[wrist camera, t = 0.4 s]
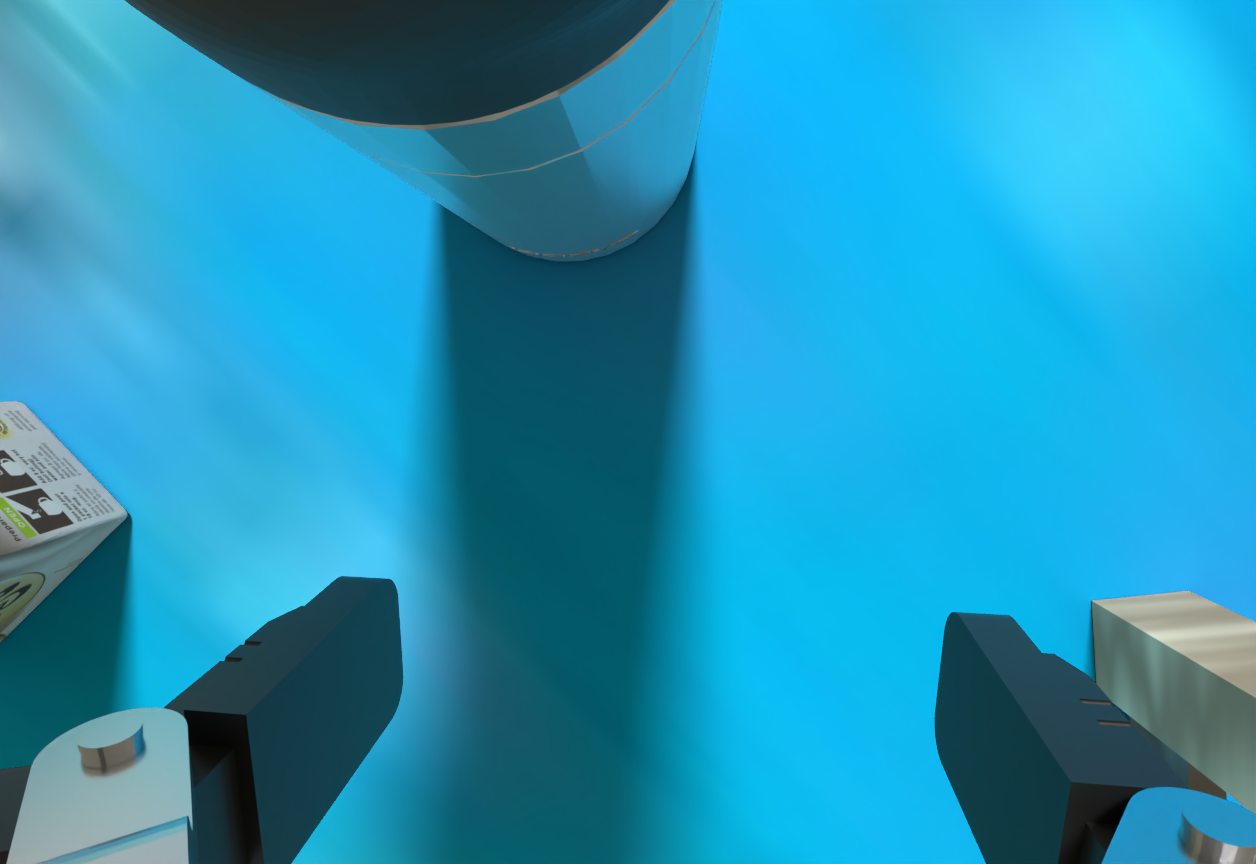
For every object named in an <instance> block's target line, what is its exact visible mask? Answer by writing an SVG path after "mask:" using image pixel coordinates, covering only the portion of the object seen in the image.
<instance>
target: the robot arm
mask: <svg viewBox="0 0 1256 864" xmlns="http://www.w3.org/2000/svg"><path fill="white" fill-rule="evenodd" d="M125 1H126V2H128V3H129V4H130V5H131V6H133V7H134V8H136V9H137V10H139V11H140V12H141V13H143V14H144V15H146V16H147V17H149V18H150V19H151V20H153V21H154V22H156V23H157V24H159V25H160V26H162V27H163V28H165V29H166V30H168V31H169V32H171V33H172V34H174V35H175V36H177V37H178V38H180V39H181V40H183V41H184V42H186V43H187V44H189V45H190V46H192V47H193V48H195V49H196V50H198V51H199V52H201V53H203V54H204V55H206V56H207V57H209V58H210V59H212V60H214V61H215V62H217V63H218V64H220V65H221V66H223V67H225V68H226V69H228V70H229V71H231V72H232V73H234V74H236V75H237V76H239V77H240V78H242V79H243V80H245V81H247V82H248V83H250V84H251V85H253V86H254V87H256V88H258V89H259V90H261V91H262V92H264V93H265V94H267V95H269V96H270V97H272V98H273V99H275V100H276V101H278V102H280V103H281V104H283V105H284V106H286V107H287V108H289V109H291V110H292V111H294V112H295V113H297V114H298V115H300V116H302V117H303V118H305V119H306V120H308V121H309V122H311V123H313V124H314V125H316V126H317V127H319V128H321V129H322V130H324V131H326V132H328V133H329V134H331V135H333V136H334V137H336V138H337V139H339V140H340V141H342V142H343V143H345V144H347V145H348V146H350V147H351V148H353V149H354V150H356V151H358V152H359V153H361V154H362V155H364V156H365V157H367V158H369V159H370V160H372V161H373V162H375V163H376V164H378V165H380V166H381V167H383V168H384V169H386V170H387V171H389V172H390V173H392V174H394V175H395V176H397V177H398V178H400V179H401V180H403V181H405V182H406V183H408V184H409V185H411V186H412V187H414V188H416V189H417V190H419V191H420V192H422V193H423V194H425V195H427V196H428V197H430V198H431V199H433V200H434V201H436V202H437V203H439V204H441V205H442V206H444V207H445V208H447V209H448V210H450V211H452V212H453V213H455V214H456V215H458V216H459V217H461V218H463V219H464V220H466V221H467V222H469V223H470V224H472V225H473V226H475V227H476V228H478V229H480V230H481V231H483V232H484V233H486V234H487V235H489V236H491V237H492V238H494V239H495V240H497V241H498V242H500V243H502V244H503V245H505V246H507V247H509V248H511V249H513V250H516V251H518V252H521V253H523V254H525V255H528V256H530V257H535V258H540V259H545V260H550V261H555V262H559V261H585V260H589V259H593V258H597V257H601V256H606V255H609V254H611V253H613V252H615V251H618V250H620V249H622V248H624V247H626V246H628V245H630V244H632V243H634V242H635V241H636V240H638V239H639V238H640V237H641V236H643V235H644V234H645V233H647V232H648V231H649V230H650V229H652V228H653V227H654V226H655V225H656V224H657V223H658V222H659V220H660V219H661V218H662V217H663V216H664V215H665V213H666V212H667V211H668V210H669V209H670V207H671V206H672V205H673V203H674V201H675V200H676V198H677V196H678V194H679V192H680V190H681V188H682V187H683V185H684V183H685V181H686V178H687V175H688V172H689V168H690V165H691V161H692V158H693V155H694V151H695V145H696V140H697V134H698V130H699V126H700V121H701V116H702V110H703V105H704V99H705V94H706V89H707V83H708V78H709V72H710V67H711V61H712V56H713V50H714V45H715V39H716V34H717V28H718V23H719V17H720V12H721V7H722V1H723V0H125ZM402 685H403V665H402V650H401V635H400V619H399V604H398V593H397V589H396V586H395V584H394V582H393V581H392V580H390V579H381V578H364V577H346V576H341V577H339V578H337V579H336V580H334V581H333V582H332V583H331V584H330V585H329V586H327V587H326V588H325V589H324V590H323V591H322V592H320V593H319V594H318V595H317V596H316V597H315V598H313V599H312V600H311V601H310V602H309V603H308V604H306V605H305V606H301V607H299V608H297V609H294V610H292V611H290V612H288V613H286V614H284V615H282V616H280V617H277V618H275V619H273V620H271V621H269V622H267V623H266V624H265V625H264V626H263V627H261V628H260V629H259V630H258V631H256V632H255V633H254V634H253V635H252V636H250V637H249V638H248V639H247V640H245V644H244V645H239V646H238V647H237V648H236V649H235V650H233V651H232V652H231V653H230V654H228V655H227V656H226V658H225V661H220V662H219V663H217V664H216V665H215V666H214V667H213V668H211V669H210V670H209V671H208V672H207V673H205V674H204V675H203V676H202V677H200V678H199V679H198V680H197V681H196V682H194V683H193V684H192V685H191V686H189V687H188V688H187V689H186V690H185V691H183V692H182V693H181V694H180V695H178V696H177V697H176V698H175V699H174V700H172V701H171V702H170V703H169V704H168V705H166V706H165V707H164V708H153V707H150V708H136V709H129V710H124V711H119V712H115V713H111V714H108V715H104V716H101V717H98V718H96V719H93V720H90V721H88V722H86V723H83V724H81V725H79V726H77V727H75V728H73V729H71V730H69V731H67V732H65V733H64V734H62V735H61V736H59V737H57V738H56V739H55V740H53V741H52V742H51V743H49V744H48V745H47V746H46V747H45V748H44V749H43V750H42V751H41V752H40V753H39V754H38V755H37V757H36V758H35V759H34V761H33V764H32V766H25V767H17V768H9V769H1V770H0V864H291V863H292V862H293V860H294V859H295V857H296V856H297V854H298V853H299V852H300V850H301V849H302V847H303V846H304V844H305V843H306V842H307V840H308V839H309V837H310V836H311V834H312V833H313V831H314V830H315V829H316V827H317V826H318V824H319V823H320V821H321V820H322V819H323V817H324V816H325V814H326V813H327V811H328V810H329V809H330V807H331V806H332V804H333V803H334V801H335V800H336V798H337V797H338V796H339V794H340V793H341V791H342V790H343V788H344V787H345V786H346V784H347V783H348V781H349V780H350V778H351V777H352V776H353V774H354V773H355V771H356V770H357V768H358V767H359V765H360V764H361V763H362V761H363V760H364V758H365V757H366V755H367V754H368V753H369V751H370V750H371V748H372V747H373V745H374V744H375V743H376V741H377V740H378V738H379V737H380V735H381V734H382V732H383V731H384V730H385V728H386V727H387V725H388V724H389V722H390V721H391V720H392V718H393V716H394V714H395V712H396V710H397V707H398V704H399V701H400V697H401V692H402ZM935 737H936V744H937V749H938V754H939V757H940V760H941V763H942V765H943V768H944V770H945V772H946V774H947V777H948V779H949V781H950V783H951V786H952V788H953V790H954V792H955V795H956V797H957V799H958V801H959V804H960V806H961V808H962V810H963V813H964V815H965V817H966V819H967V822H968V824H969V826H970V828H971V831H972V833H973V835H974V837H975V840H976V842H977V844H978V846H979V849H980V851H981V853H982V855H983V858H984V860H985V862H986V864H1256V814H1255V813H1253V812H1251V811H1249V810H1247V809H1245V808H1244V807H1241V806H1239V805H1237V804H1234V803H1232V802H1230V801H1227V800H1224V799H1222V798H1219V797H1216V796H1213V795H1210V794H1206V793H1202V792H1199V791H1194V790H1190V789H1189V788H1188V787H1187V786H1186V785H1185V783H1184V782H1183V781H1182V780H1181V779H1180V778H1179V777H1178V776H1177V774H1176V773H1175V772H1174V771H1173V770H1172V769H1171V768H1170V767H1169V765H1168V764H1167V763H1166V762H1165V761H1164V760H1163V759H1162V758H1161V756H1160V755H1159V754H1158V753H1157V752H1156V751H1155V750H1154V748H1153V747H1152V746H1151V745H1150V744H1149V743H1148V742H1147V741H1146V739H1145V738H1144V737H1143V736H1142V735H1141V734H1140V733H1139V732H1138V730H1137V729H1136V728H1134V727H1130V721H1129V720H1128V719H1127V718H1126V717H1125V716H1124V715H1123V714H1122V712H1121V711H1120V710H1119V709H1118V708H1117V707H1116V706H1112V704H1111V700H1110V699H1109V698H1108V697H1107V695H1106V694H1105V693H1104V692H1103V691H1102V690H1101V689H1100V688H1099V686H1098V685H1097V684H1096V683H1095V682H1094V681H1093V680H1092V679H1091V677H1090V676H1088V675H1087V674H1085V673H1084V672H1082V671H1080V670H1079V669H1077V668H1076V667H1074V666H1073V665H1071V664H1069V663H1068V662H1066V661H1065V660H1063V659H1061V658H1060V657H1058V656H1057V655H1055V654H1047V653H1041V652H1040V650H1039V649H1038V648H1037V647H1036V645H1035V644H1034V643H1033V642H1032V641H1031V639H1030V638H1029V637H1028V636H1027V634H1026V633H1025V632H1024V631H1023V630H1022V628H1021V627H1020V626H1019V625H1018V623H1017V622H1016V621H1015V620H1014V619H1013V618H1012V617H1011V616H1009V615H994V614H976V613H959V612H952V613H951V614H950V615H949V616H948V618H947V621H946V625H945V630H944V638H943V647H942V656H941V665H940V673H939V682H938V691H937V700H936V708H935Z"/></svg>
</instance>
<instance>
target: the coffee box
mask: <svg viewBox="0 0 1256 864" xmlns="http://www.w3.org/2000/svg"><path fill="white" fill-rule="evenodd" d="M127 516H128V514H127V512H126V510H125V509H124V508H123V507H122V506H121V505H120V504H119V503H118V502H117V501H116V500H115V498H114V497H113V496H112V495H111V494H110V493H109V492H108V491H107V490H106V489H105V488H104V487H103V486H102V485H101V484H100V483H99V482H98V481H97V480H96V478H95V477H94V476H93V475H92V474H91V473H90V472H89V471H88V470H87V469H86V468H85V467H84V466H83V465H82V464H81V463H80V462H79V460H78V459H77V458H76V457H75V456H74V455H73V454H72V453H71V452H70V451H69V450H68V449H67V448H66V447H65V446H64V445H63V444H62V443H61V442H60V441H59V440H58V438H57V437H56V436H55V435H54V434H53V433H52V432H51V431H50V430H49V429H48V428H47V427H46V426H45V425H44V424H43V423H42V422H41V421H40V420H39V419H38V418H37V416H36V415H35V414H34V413H33V412H32V411H31V410H30V409H29V408H28V407H27V406H26V405H24V404H23V403H21V402H16V401H12V402H0V642H1V641H2V640H3V639H4V638H5V637H6V636H7V635H8V634H9V633H10V632H11V631H13V630H14V629H15V628H16V627H17V626H18V625H19V624H20V623H21V622H22V621H23V620H24V619H25V618H26V617H27V616H28V615H29V614H30V613H31V612H32V611H33V610H34V609H35V608H36V607H37V606H38V605H39V604H40V603H41V602H42V601H43V600H44V599H45V598H46V597H47V596H48V595H49V594H50V593H51V592H52V591H53V590H54V589H55V588H56V587H57V586H58V585H59V584H60V583H61V582H62V581H63V580H64V579H65V578H66V577H67V576H68V575H69V574H70V573H71V572H72V571H73V570H74V569H75V568H76V567H77V566H78V565H79V564H80V563H81V562H82V561H83V560H84V559H85V558H86V557H87V556H88V555H89V554H90V553H91V552H92V551H93V550H94V549H95V548H96V547H97V546H98V545H99V544H100V543H101V542H102V541H103V540H104V539H105V538H106V537H107V536H108V535H109V534H110V533H111V532H112V531H113V530H114V529H116V528H117V527H118V526H119V525H120V524H121V523H122V522H123V521H124V520H125V519H126V518H127Z"/></svg>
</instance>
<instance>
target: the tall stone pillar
mask: <svg viewBox="0 0 1256 864" xmlns="http://www.w3.org/2000/svg"><path fill="white" fill-rule="evenodd" d="M1092 616H1093V634H1094V653H1095V671H1096V684H1097V685H1098V686H1099V688H1100V689H1101V690H1102V691H1103V692H1104V693H1105V694H1106V695H1107V697H1108V698H1109V699H1110V700H1111V702H1112V703H1114V704H1115V705H1116V706H1117V707H1119V708H1120V709H1121V710H1123V711H1124V712H1125V713H1126V714H1128V715H1129V719H1130V727H1134V728H1136V729H1137V730H1138V732H1139V733H1140V734H1141V735H1142V736H1143V737H1144V738H1145V739H1146V741H1147V742H1148V743H1149V744H1150V745H1151V746H1152V747H1153V748H1154V750H1155V751H1156V752H1157V753H1158V754H1159V755H1160V756H1161V758H1162V759H1163V760H1164V761H1165V762H1166V763H1167V764H1168V765H1169V767H1170V768H1171V769H1172V770H1173V771H1174V772H1175V773H1176V774H1177V776H1178V777H1179V778H1180V779H1181V780H1182V781H1183V782H1184V783H1185V785H1186V786H1187V787H1188V788H1189V789H1190V790H1194V791H1199V792H1202V793H1206V794H1210V795H1213V796H1216V797H1219V798H1222V799H1224V800H1226V793H1228V794H1229V795H1230V796H1231V797H1233V798H1234V799H1235V800H1237V801H1238V802H1239V803H1240V804H1242V805H1243V806H1244V807H1245V808H1247V809H1248V810H1249V811H1251V812H1253V813H1255V814H1256V622H1254V621H1252V620H1250V619H1248V618H1246V617H1244V616H1241V615H1239V614H1237V613H1235V612H1233V611H1231V610H1228V609H1226V608H1224V607H1222V606H1220V605H1218V604H1216V603H1213V602H1211V601H1209V600H1207V599H1205V598H1203V597H1201V596H1198V595H1196V594H1194V593H1192V592H1190V591H1183V592H1173V593H1163V594H1153V595H1143V596H1133V597H1124V598H1114V599H1104V600H1094V601H1092Z"/></svg>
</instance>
